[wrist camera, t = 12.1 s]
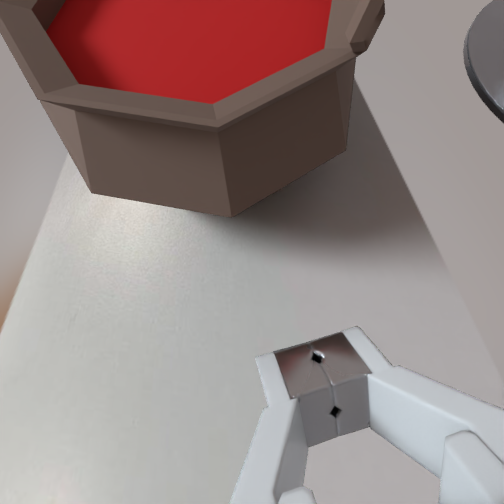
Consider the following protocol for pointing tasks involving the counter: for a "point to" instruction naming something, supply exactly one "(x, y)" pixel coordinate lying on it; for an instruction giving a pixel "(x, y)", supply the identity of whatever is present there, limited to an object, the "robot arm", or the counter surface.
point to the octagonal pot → (193, 91)
